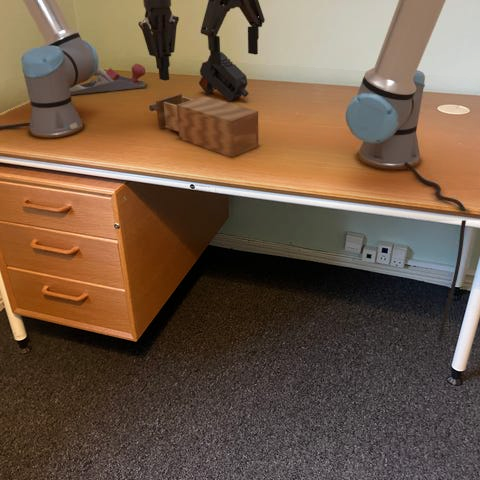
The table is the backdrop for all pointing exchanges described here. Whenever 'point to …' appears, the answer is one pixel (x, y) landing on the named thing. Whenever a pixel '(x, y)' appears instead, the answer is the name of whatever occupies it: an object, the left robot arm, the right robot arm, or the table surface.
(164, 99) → the drawer
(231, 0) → the right robot arm
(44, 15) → the left robot arm
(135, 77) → the hand plane
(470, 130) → the table surface
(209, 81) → the tool
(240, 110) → the wooden grain block
